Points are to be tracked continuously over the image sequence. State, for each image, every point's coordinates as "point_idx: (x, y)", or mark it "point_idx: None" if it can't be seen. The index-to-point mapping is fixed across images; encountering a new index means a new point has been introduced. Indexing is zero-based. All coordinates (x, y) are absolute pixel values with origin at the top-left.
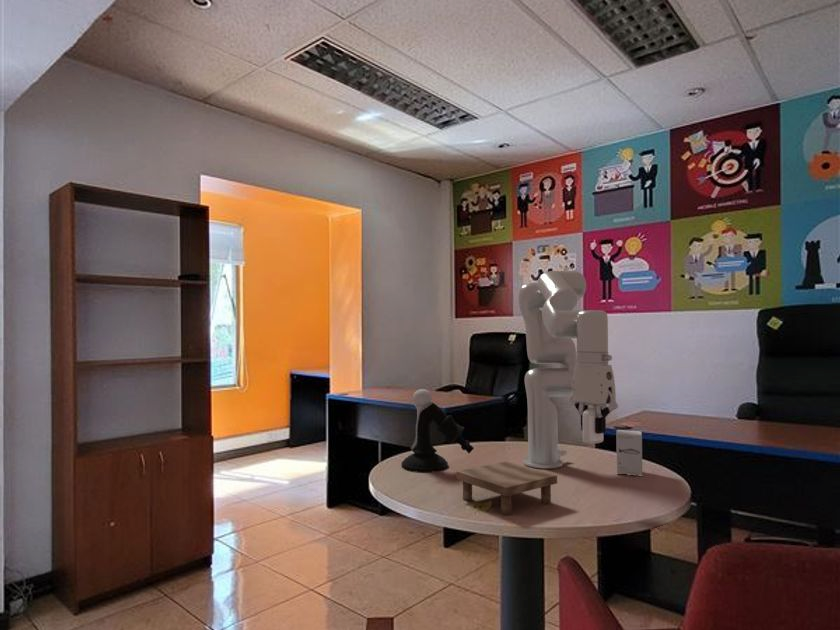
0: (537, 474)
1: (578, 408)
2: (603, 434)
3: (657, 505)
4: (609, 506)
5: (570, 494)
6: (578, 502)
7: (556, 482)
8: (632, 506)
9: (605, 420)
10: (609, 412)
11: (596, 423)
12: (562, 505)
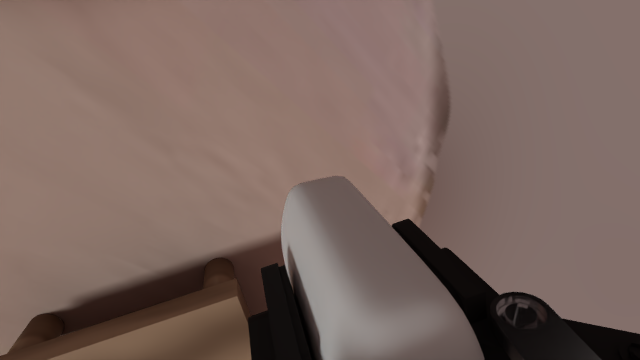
0: (201, 350)
1: None
2: (361, 194)
3: None
4: (314, 113)
5: (157, 154)
6: (246, 179)
7: (237, 283)
8: (343, 40)
9: (491, 289)
10: (615, 339)
11: None
12: (254, 237)
